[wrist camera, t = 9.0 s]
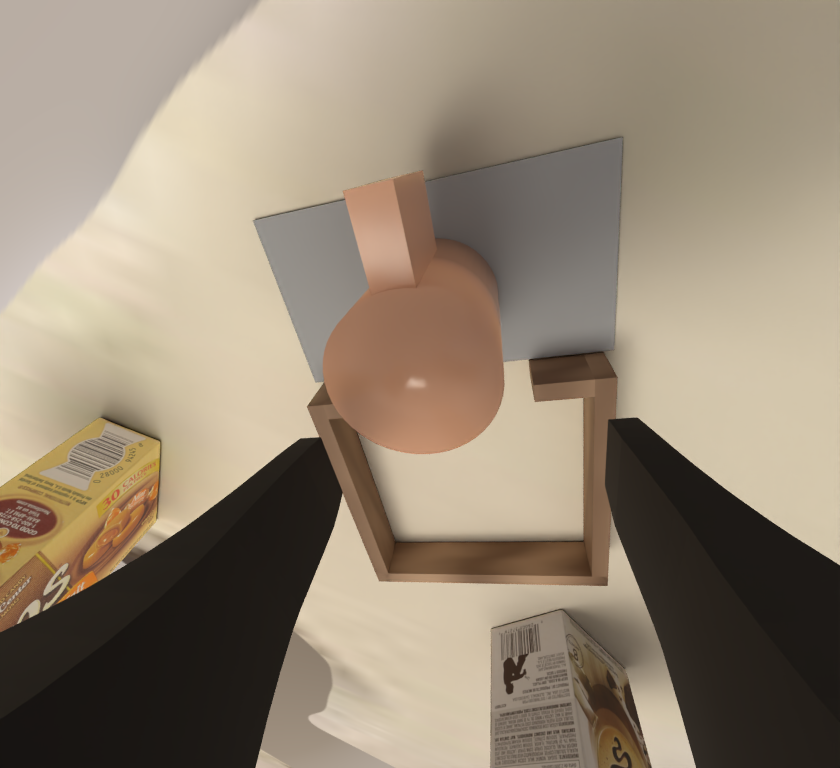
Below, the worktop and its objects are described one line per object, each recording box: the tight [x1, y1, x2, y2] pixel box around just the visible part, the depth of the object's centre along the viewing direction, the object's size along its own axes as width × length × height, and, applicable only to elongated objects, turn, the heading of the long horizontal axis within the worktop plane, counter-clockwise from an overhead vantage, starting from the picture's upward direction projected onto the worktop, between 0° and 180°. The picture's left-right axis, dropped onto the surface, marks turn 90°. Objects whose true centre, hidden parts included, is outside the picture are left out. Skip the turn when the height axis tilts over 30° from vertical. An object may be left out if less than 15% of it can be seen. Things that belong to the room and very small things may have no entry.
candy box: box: [0, 418, 160, 632], centre depth 20 cm, size 9×4×15 cm, turn 158°
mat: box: [253, 137, 623, 382], centre depth 16 cm, size 14×8×1 cm, turn 102°
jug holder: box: [307, 352, 618, 586], centre depth 21 cm, size 13×13×2 cm
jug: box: [323, 170, 504, 454], centre depth 13 cm, size 7×5×7 cm
